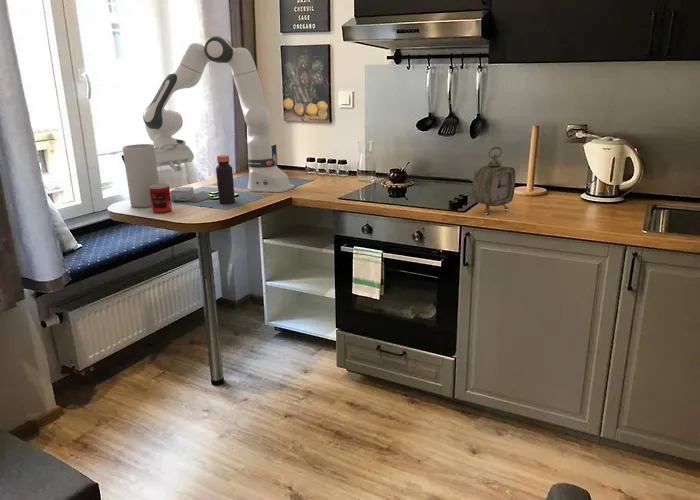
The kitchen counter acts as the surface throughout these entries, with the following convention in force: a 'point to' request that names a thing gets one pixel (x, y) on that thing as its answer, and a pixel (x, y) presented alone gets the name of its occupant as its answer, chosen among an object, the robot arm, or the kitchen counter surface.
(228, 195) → the bottle
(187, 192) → the medicine box
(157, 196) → the canned food
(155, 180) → the cylinder vase
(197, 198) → the mat
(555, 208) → the kitchen counter surface
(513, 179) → the tabletop clock
